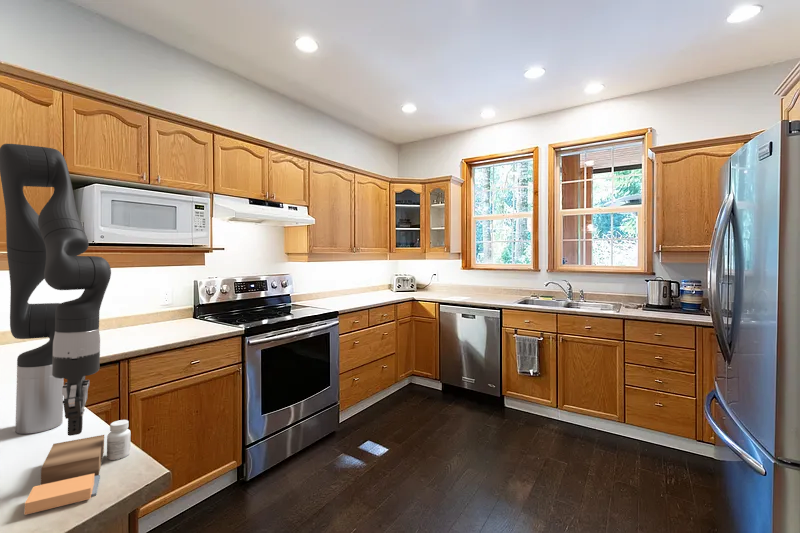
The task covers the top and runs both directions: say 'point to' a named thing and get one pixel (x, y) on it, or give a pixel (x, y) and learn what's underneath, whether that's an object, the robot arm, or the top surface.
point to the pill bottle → (118, 440)
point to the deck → (73, 459)
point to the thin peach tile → (59, 493)
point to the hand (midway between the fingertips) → (75, 433)
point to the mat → (95, 485)
